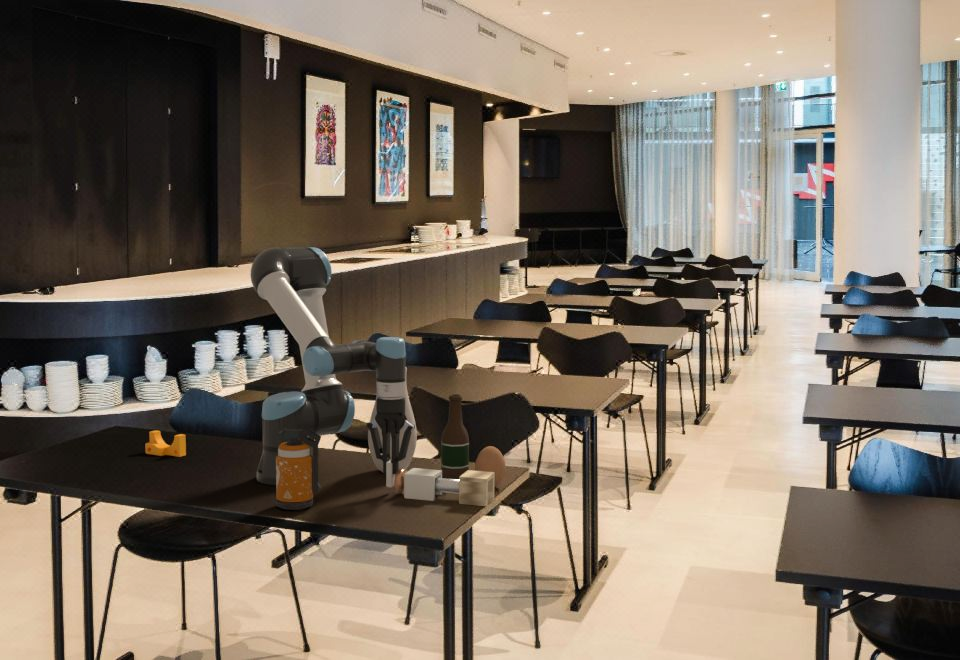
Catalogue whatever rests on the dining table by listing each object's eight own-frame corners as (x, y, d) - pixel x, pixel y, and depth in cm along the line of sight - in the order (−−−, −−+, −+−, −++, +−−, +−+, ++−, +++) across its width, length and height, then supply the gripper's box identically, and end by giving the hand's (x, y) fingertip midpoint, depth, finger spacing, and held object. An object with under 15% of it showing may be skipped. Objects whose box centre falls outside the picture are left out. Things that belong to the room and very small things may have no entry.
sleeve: (404, 498, 268) (404, 473, 267) (413, 491, 274) (413, 467, 273) (433, 500, 266) (433, 476, 265) (441, 494, 272) (442, 470, 271)
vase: (370, 478, 287) (370, 371, 283) (365, 466, 300) (365, 364, 297) (420, 476, 290) (420, 370, 286) (412, 464, 303) (413, 363, 299)
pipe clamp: (145, 453, 314) (145, 432, 313) (156, 451, 318) (155, 430, 317) (175, 458, 308) (175, 437, 308) (185, 455, 312) (185, 434, 311)
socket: (459, 503, 263) (459, 476, 263) (467, 496, 270) (467, 470, 269) (486, 506, 261) (486, 479, 260) (494, 498, 268) (494, 472, 267)
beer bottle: (465, 485, 281) (466, 398, 278) (437, 483, 282) (438, 396, 279) (471, 478, 288) (472, 393, 285) (444, 476, 290) (444, 391, 287)
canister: (278, 501, 263) (277, 424, 261) (322, 501, 264) (322, 424, 262) (274, 512, 254) (273, 431, 252) (320, 511, 255) (319, 431, 253)
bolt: (394, 496, 269) (394, 472, 268) (403, 489, 275) (403, 466, 274) (481, 504, 262) (481, 479, 261) (488, 498, 268) (489, 473, 267)
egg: (509, 490, 276) (510, 448, 275) (479, 492, 274) (480, 450, 273) (500, 482, 284) (500, 442, 283) (471, 484, 282) (471, 443, 281)
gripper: (362, 397, 268) (362, 487, 271) (409, 401, 264) (408, 491, 267) (373, 393, 275) (373, 480, 278) (419, 396, 271) (419, 484, 274)
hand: (390, 485), depth 272 cm, fingers closed
